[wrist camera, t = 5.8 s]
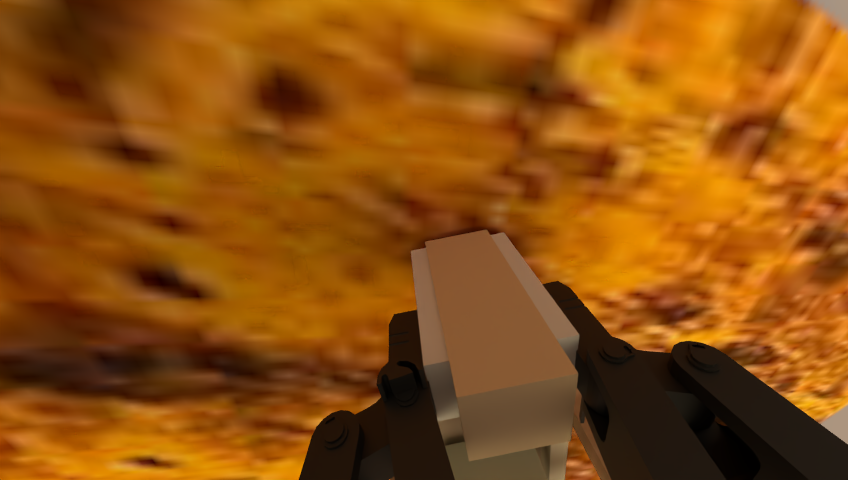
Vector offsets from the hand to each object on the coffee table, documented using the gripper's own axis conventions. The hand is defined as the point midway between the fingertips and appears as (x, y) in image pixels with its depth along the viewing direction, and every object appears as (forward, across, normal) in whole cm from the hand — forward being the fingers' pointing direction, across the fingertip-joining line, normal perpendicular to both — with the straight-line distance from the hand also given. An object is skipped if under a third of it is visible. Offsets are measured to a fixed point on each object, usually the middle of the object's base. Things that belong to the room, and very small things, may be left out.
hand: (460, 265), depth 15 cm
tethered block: (0, 0, -9) cm, 9 cm away
